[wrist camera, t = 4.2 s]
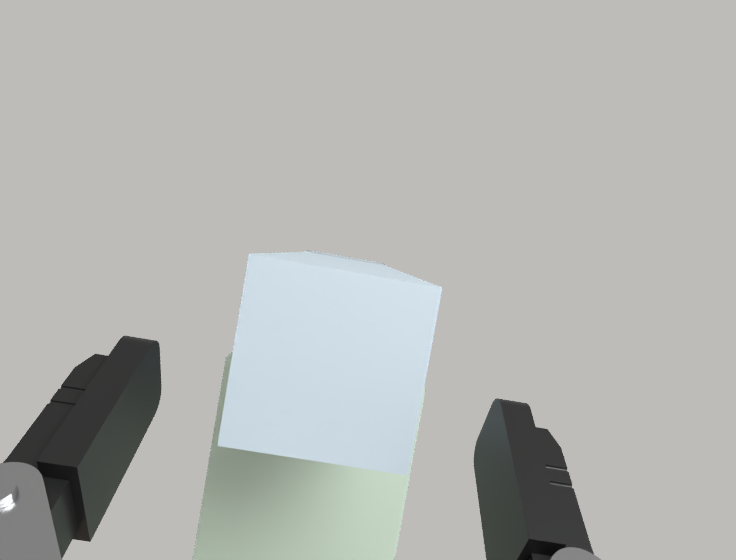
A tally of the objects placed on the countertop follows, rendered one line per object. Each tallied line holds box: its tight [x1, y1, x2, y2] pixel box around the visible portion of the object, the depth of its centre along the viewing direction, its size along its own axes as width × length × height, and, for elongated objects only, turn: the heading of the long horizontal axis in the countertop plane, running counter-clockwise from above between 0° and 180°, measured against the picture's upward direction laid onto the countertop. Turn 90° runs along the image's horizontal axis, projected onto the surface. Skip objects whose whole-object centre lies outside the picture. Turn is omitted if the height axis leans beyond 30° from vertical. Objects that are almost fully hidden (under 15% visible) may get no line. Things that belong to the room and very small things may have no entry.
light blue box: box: [217, 251, 442, 475], centre depth 27 cm, size 5×28×5 cm, turn 3°
